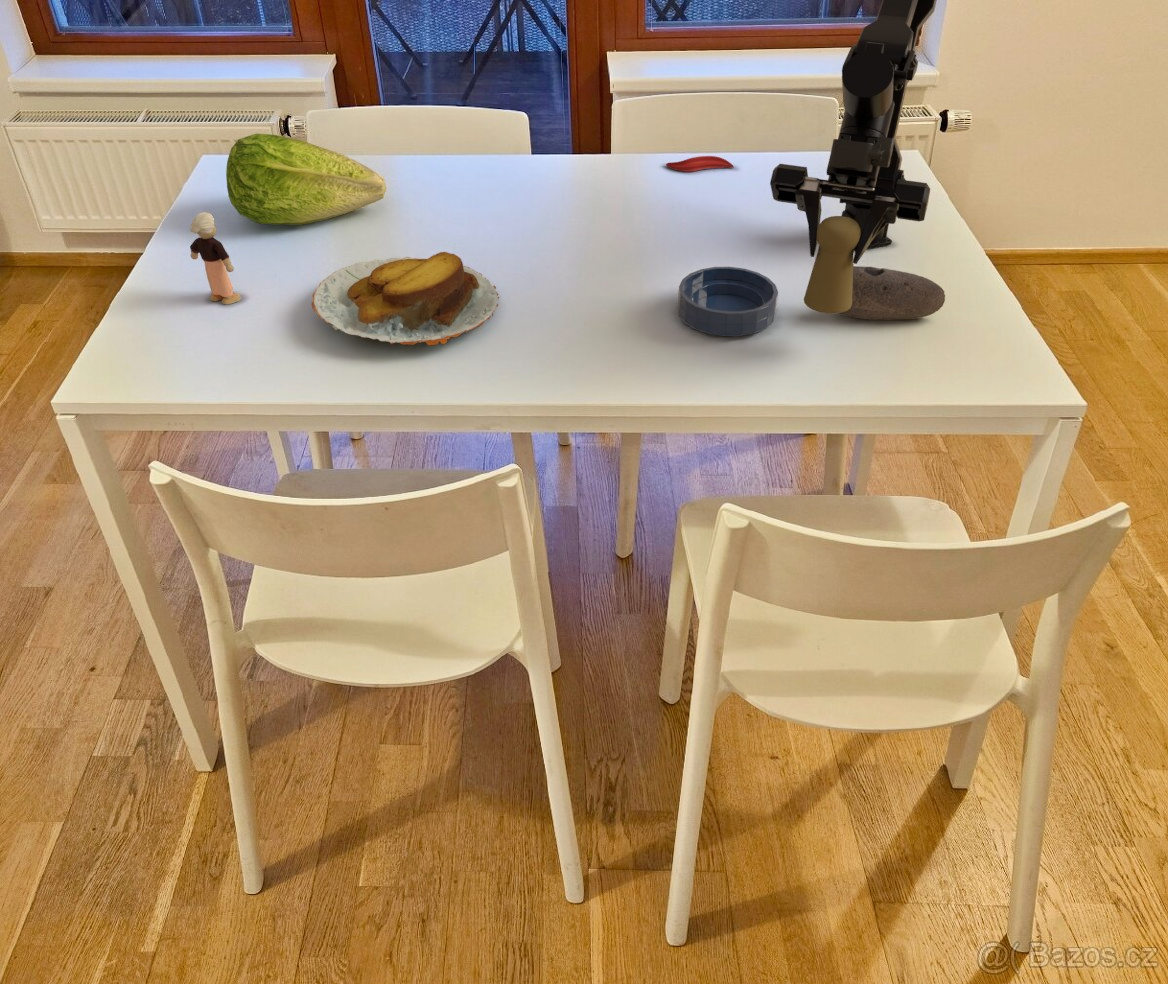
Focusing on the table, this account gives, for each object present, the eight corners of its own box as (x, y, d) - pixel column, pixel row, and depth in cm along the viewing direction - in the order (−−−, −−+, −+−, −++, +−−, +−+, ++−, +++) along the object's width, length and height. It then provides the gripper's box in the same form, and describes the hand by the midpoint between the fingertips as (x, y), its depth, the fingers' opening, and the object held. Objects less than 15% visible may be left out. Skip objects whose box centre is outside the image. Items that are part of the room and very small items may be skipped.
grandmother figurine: (253, 295, 147) (233, 211, 139) (238, 308, 144) (217, 223, 136) (207, 287, 149) (185, 204, 141) (191, 299, 146) (168, 215, 138)
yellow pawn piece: (851, 315, 128) (866, 233, 121) (802, 311, 129) (814, 229, 122) (852, 292, 132) (866, 211, 125) (804, 288, 133) (816, 208, 126)
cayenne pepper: (663, 169, 181) (664, 159, 180) (667, 159, 184) (667, 149, 183) (732, 174, 179) (733, 163, 178) (734, 164, 182) (735, 153, 181)
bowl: (747, 285, 148) (750, 260, 145) (791, 329, 138) (795, 303, 136) (663, 301, 145) (664, 275, 142) (701, 347, 135) (704, 320, 132)
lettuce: (384, 241, 162) (385, 151, 156) (222, 229, 158) (217, 137, 152) (387, 220, 175) (388, 136, 169) (238, 209, 171) (234, 122, 165)
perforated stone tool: (937, 310, 142) (948, 264, 138) (943, 330, 138) (954, 283, 134) (827, 304, 144) (834, 258, 139) (829, 323, 140) (837, 276, 135)
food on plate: (336, 269, 153) (329, 228, 149) (503, 269, 153) (501, 227, 148) (298, 360, 133) (289, 315, 129) (491, 360, 133) (488, 315, 129)
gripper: (782, 97, 121) (751, 223, 120) (946, 115, 116) (914, 248, 115) (788, 139, 132) (760, 255, 131) (938, 158, 127) (910, 279, 126)
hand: (833, 259), depth 125 cm, fingers closed on yellow pawn piece, 5 cm apart
